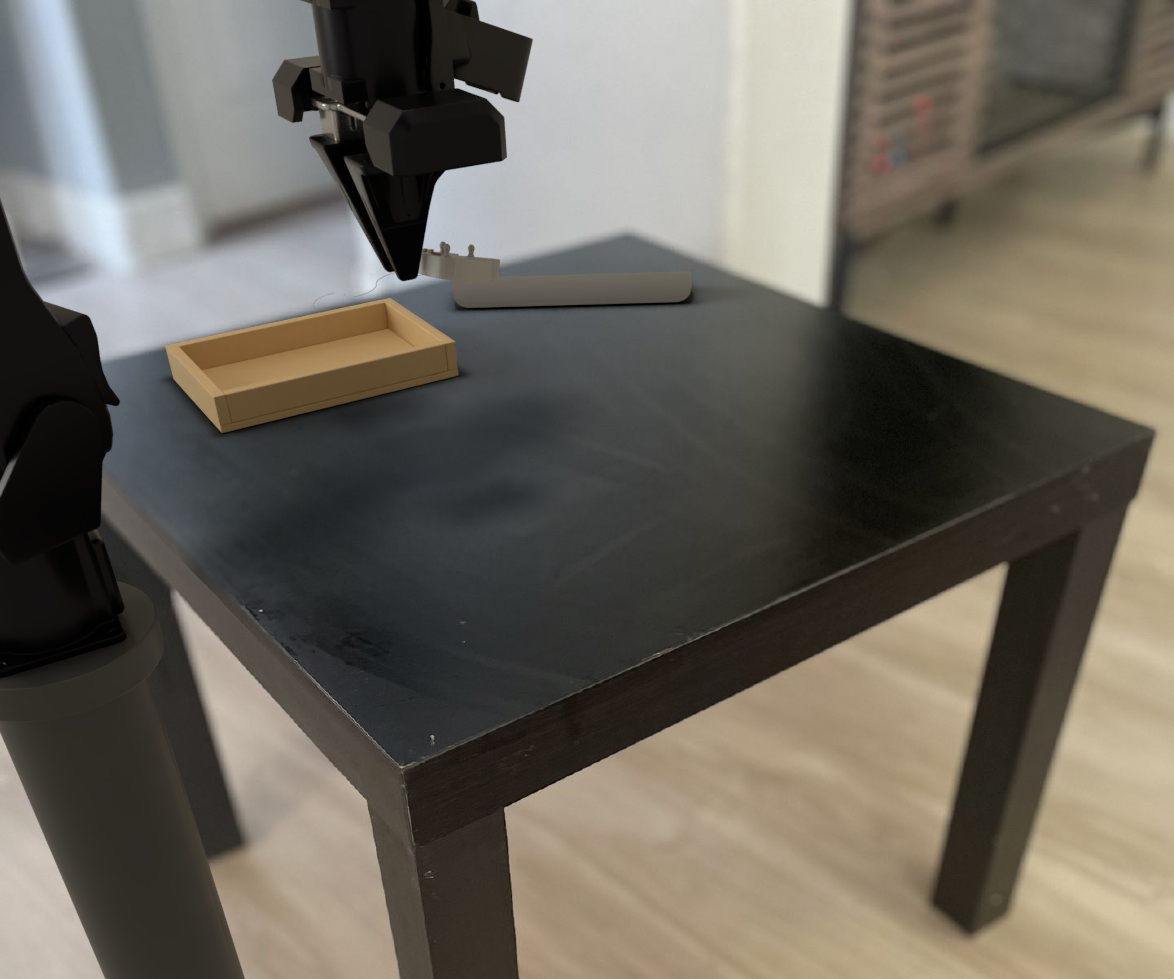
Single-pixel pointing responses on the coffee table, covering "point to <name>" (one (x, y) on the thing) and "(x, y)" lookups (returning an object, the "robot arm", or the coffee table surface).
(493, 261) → the game controller
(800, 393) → the coffee table surface
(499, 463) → the coffee table surface
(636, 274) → the gray half cylinder
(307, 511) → the coffee table surface
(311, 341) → the serving tray
